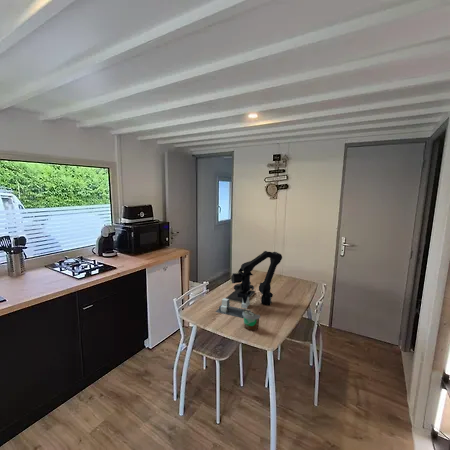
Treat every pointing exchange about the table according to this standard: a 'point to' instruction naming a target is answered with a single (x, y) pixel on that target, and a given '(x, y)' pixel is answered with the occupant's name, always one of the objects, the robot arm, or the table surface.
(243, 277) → the robot arm
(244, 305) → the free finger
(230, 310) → the rail
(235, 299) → the hardcover book
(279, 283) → the table surface
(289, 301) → the table surface
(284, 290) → the table surface
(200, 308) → the table surface
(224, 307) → the block
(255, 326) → the food container
